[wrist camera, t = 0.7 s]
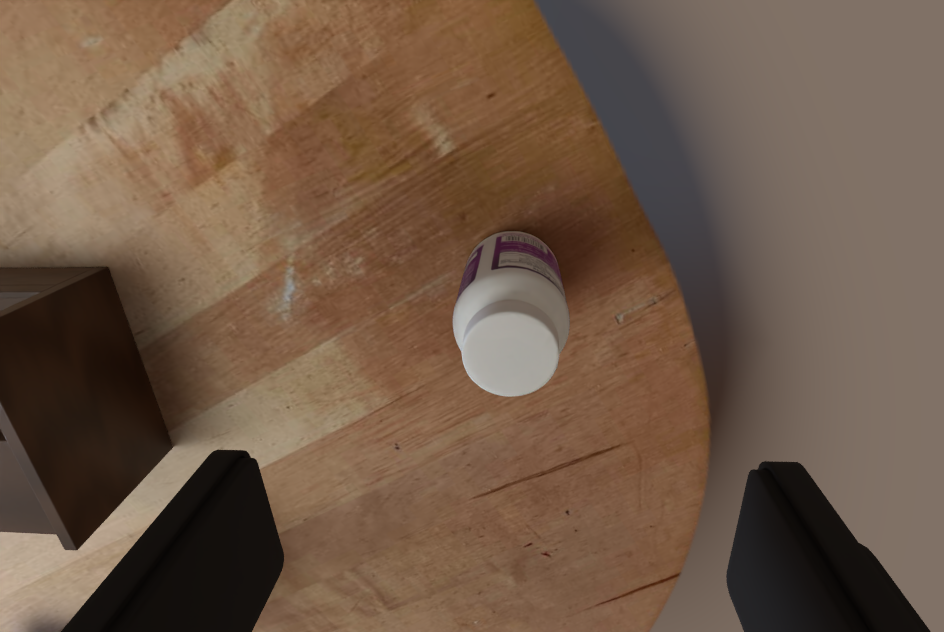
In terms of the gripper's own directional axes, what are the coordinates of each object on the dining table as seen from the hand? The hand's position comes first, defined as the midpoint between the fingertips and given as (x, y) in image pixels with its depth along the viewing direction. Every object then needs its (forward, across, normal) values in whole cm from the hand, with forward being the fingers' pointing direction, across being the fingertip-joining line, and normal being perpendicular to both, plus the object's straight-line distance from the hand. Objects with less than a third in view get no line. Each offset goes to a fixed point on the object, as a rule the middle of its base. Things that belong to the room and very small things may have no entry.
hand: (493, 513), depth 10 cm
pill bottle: (+21, 0, +2) cm, 21 cm away
